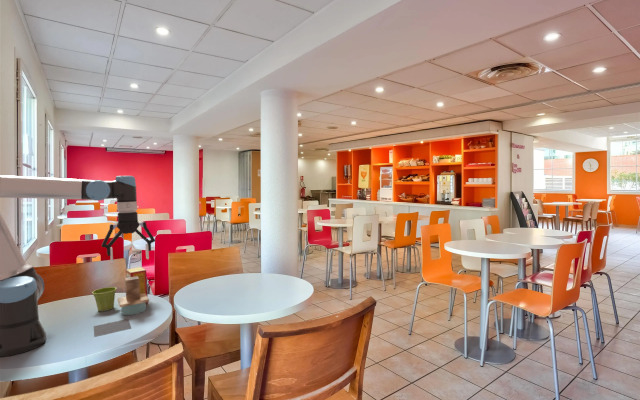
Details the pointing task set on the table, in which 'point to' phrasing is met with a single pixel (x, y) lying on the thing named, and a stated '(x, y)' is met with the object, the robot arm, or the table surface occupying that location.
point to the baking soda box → (142, 278)
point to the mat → (111, 327)
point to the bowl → (133, 309)
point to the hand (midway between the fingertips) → (130, 260)
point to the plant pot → (105, 298)
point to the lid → (132, 293)
